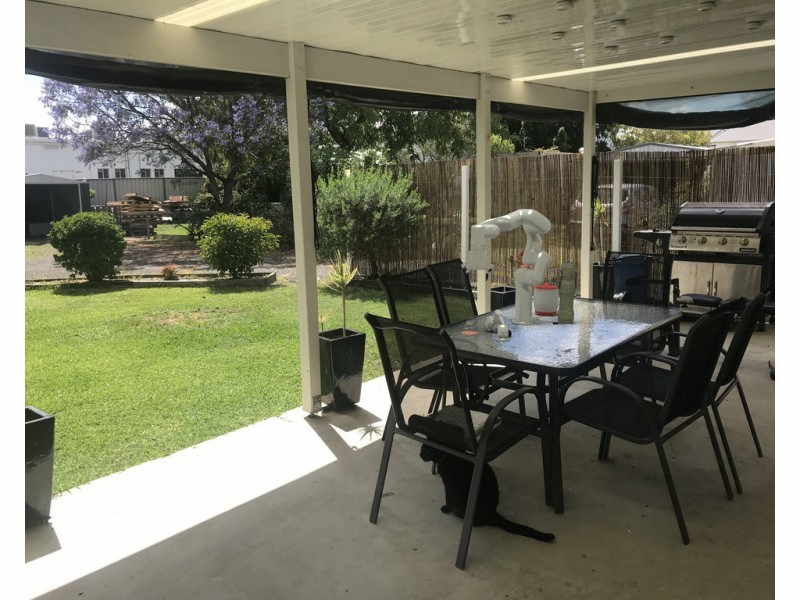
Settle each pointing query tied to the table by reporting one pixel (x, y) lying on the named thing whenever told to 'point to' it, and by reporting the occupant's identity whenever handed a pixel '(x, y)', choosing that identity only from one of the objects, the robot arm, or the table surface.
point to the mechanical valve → (495, 322)
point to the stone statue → (566, 292)
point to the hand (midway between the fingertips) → (477, 280)
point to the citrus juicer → (546, 299)
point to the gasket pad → (469, 332)
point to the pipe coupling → (503, 333)
